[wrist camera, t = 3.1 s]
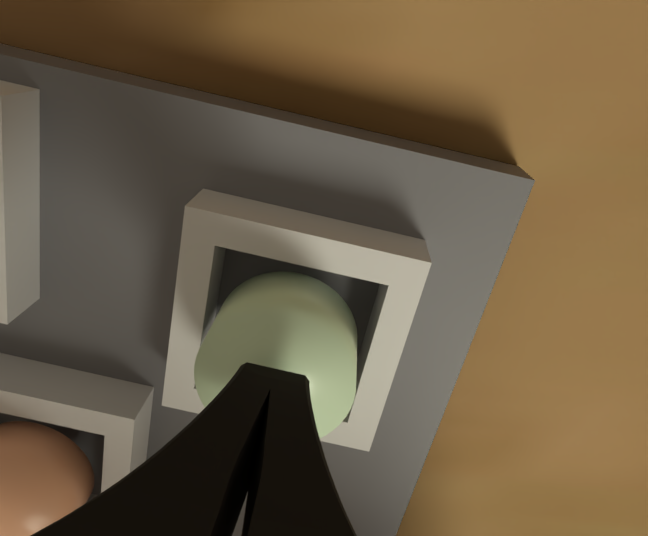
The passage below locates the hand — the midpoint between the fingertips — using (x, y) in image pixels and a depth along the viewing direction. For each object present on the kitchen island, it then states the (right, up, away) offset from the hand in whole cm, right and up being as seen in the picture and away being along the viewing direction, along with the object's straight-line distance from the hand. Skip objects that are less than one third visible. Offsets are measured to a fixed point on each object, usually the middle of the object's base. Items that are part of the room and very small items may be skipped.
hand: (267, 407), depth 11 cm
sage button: (0, +1, +3) cm, 3 cm away
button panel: (-4, +1, +6) cm, 8 cm away
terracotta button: (-8, -3, +5) cm, 10 cm away
